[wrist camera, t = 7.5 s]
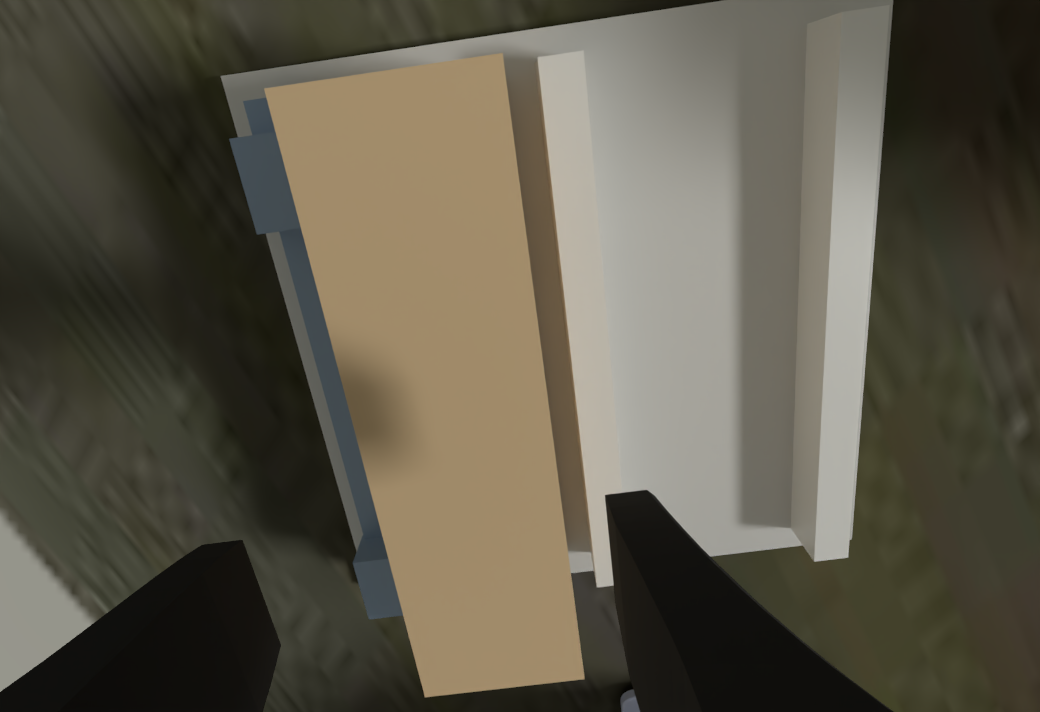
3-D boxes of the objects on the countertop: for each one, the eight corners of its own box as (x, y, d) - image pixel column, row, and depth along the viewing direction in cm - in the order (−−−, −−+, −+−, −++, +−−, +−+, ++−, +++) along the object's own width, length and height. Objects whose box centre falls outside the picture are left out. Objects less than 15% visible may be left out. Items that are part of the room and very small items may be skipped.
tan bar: (566, 546, 19) (584, 679, 15) (445, 561, 20) (424, 697, 15) (504, 76, 14) (502, 53, 10) (342, 100, 15) (264, 89, 10)
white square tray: (842, 528, 20) (900, 597, 17) (373, 584, 21) (350, 661, 18) (880, -20, 14) (976, -58, 11) (230, 77, 15) (162, 66, 12)
